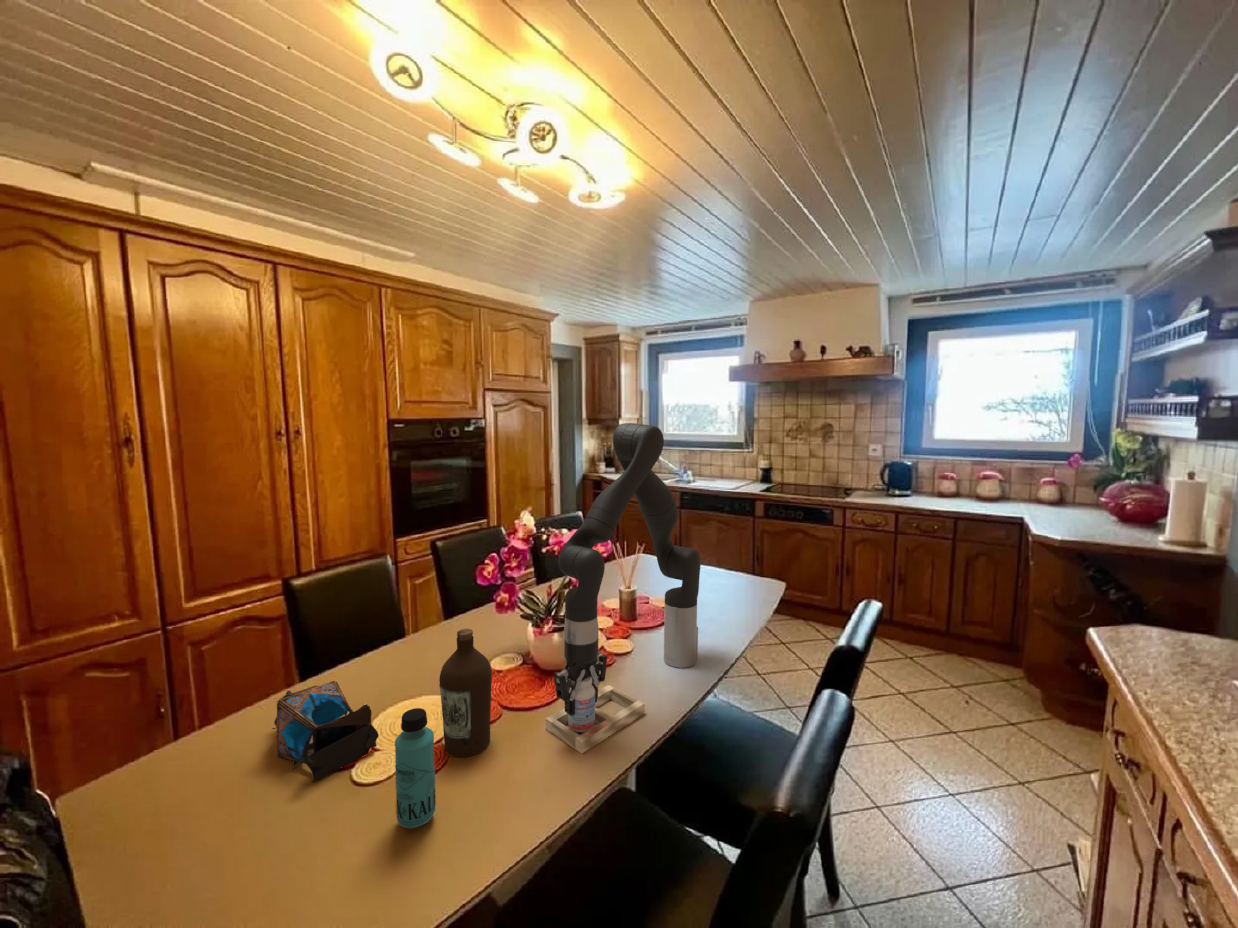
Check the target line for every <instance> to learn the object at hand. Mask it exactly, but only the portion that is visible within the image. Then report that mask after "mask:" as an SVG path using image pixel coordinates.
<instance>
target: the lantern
mask: <svg viewBox="0 0 1238 928" xmlns="http://www.w3.org/2000/svg"><path fill="white" fill-rule="evenodd" d="M275 704H276V718H274V719H275V720H274V723H273V724H274V726H275V727H272V728H271V729H272V730H275V729H276V755H277V757H278V758H282V759H285V760H288V761H293V762H292V763H293V766H292V770H294V769H295V768H296V764H297V763H301V764H304V765H306V766H307V767H308V768H309V770H310V771H311V773H312V784H315V783H317V782H319V781H321V780H322V779H323V780H324V779H325V778H326V777H328V776H330V775H332V774H334V773H336V772H337V771H339V770H341V769H342V768H341V767H343V768H345V767H347V766H349V765H351V764H353V763H354V762H356V760H357V761H359V760H360V759H359V758H361V757H362V756H364V755H366V754H368V755H369V751H370V749H372V748H375V747H377V740H378V739H379V736H380V735H379V733H378V731H377V729H376V727H374V726H373V724H372V710H371V706H369V705H368V703H364V704H363V705H362V706H361V707H359V708H358V709H357V710H355V711H354V710H353V709H352V708H351V706H350V704H349V701H348V700H347V697H346V696H345V695H344V693H343V691H342V689H341V688H340V685H339V682H338V681H335V680H331V681H329V682H326V683H324V684H320V685H313V686H310V687H307V688H303V689H301V690H298V691H295V692H294V691H293V692H291V690H289V689H288V690H287V691H286V693H285V694H284V695H283V696H282V697H281V698H279V699H278V700H277V701H276V702H275ZM366 756H367V755H366ZM358 759H359V760H358ZM361 759H362V758H361ZM352 762H353V763H352ZM346 765H347V766H346ZM344 766H345V767H344Z"/></svg>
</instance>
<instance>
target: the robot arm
mask: <svg viewBox="0 0 1238 928" xmlns="http://www.w3.org/2000/svg"><path fill="white" fill-rule="evenodd" d="M664 444H665V439H664V434H663V432H662V430H661V429H660V428H659V427H657V426H655V425H651V424H644V423H634V422H625V423H621V424H619V425H618V426H617V427H616V428H615V430H614V431H613V436H612V447H613V450H614V453H615V456H616V458H617V460H618V463H620V466H621V467H622V469H623V473H621V475H619V476H618V477H617V478H616V479H615V480H614V481H613V482H612V483H610V484H609V485H608V486H607V487H606V488H605V489H604V490H603V491H601V493H600V494H599V495H598V496H597V497H596V498H595V499H594V501H593V503H592V505H591V507H590V508H589V511H588V512H587V514H586V516H585V519H584V521H583V523H582V524H581V525H580V527H578V528H577V530H575V532H574V533H573V534H572V535H571V537H570V538H569V539H568V540H567V541H566V543H564V545H563V547H562V548H561V550H560V553H559V555H558V558H557V559H558V561H557V563H558V569H559V570H560V572H561V573H562V574H563V575H565V576H568V577H570V578H573V579H576V580H577V582H578V583H577V586H576V587H575V586H574V587H572V588H569V589H568V590H566V593H565V597H564V600H565V601H564V603H565V605H564V607H565V608H564V609H565V610H564V611H565V613H564V615H565V616H564V624H563V625H564V628H563V633H564V634H563V637H564V638H563V639H564V640H563V641H564V642H563V643H564V644H563V646H564V648H563V649H564V650H563V652H564V653H563V654H564V658H565V661H566V663H565V667H564V670H562V671H560V672H558V671H555V672H554V674H553V679H554V687H555V694H556V697H557V698H558V699H560V700H562V701H563V702H564V709H565V712H566V713H567V714H569V715H570V716H573V715H575V699H574V697H575V694H576V691H577V690H578V689H579V687H580V684H581V681H583V680H585V679H587V678H589V677H590V676H591V677H592V686H593V687H594V689H595V703H596V702H597V698H598V690H599V687H600V683H601V682H602V683H603V682H604V681H605V680H606V672H607V661H608V656H607V655H605V654H604V653H601V652H599V622H598V597H599V594H600V593H599V592H600V590H601V586H602V582H603V578H604V574H605V569H606V568H605V564H606V563H605V561H604V557H603V555H602V554H601V553H600V551H599V550H597V549H593V548H594V547H595V546H596V545H598V544H605V543H608V542H609V541H610V540H611V538H612V536H613V534H614V532H615V530H616V528H617V526H618V524H619V522H620V520H621V517H622V516H623V513H624V511H625V510H626V507H627V506H628V504H629V502H631V500H632V498H633V496H635V498H636V501H637V503H638V504H637V505H638V507H639V509H640V512H641V514H642V517H643V520H644V523H645V524H646V526H647V529H648V533H649V535H650V538H651V540H652V544H653V548H654V553H655V556H656V560H657V561H656V562H657V564H658V568H659V570H660V572H661V574H662V575H663V576H664V577H666V578H669V579H674V580H678V581H681V586H678V587H673V588H669V589H668V590H666V591H665V594H664V611H663V612H664V623H663V627H664V628H663V629H664V630H663V661H664V663H666V664H667V665H668V666H670V667H674V668H679V669H680V668H681V669H682V668H683V669H685V668H690V667H692V666H694V665H695V664H696V663H697V662H696V661H697V659H698V653H699V648H698V647H699V627H698V626H697V625H698V596H699V588H700V573H701V555H700V552H699V551H698V550H697V549H695V548H691V547H684V546H680V545H679V546H678V545H675V544H674V543H673V541H672V539H671V538H672V537H671V534H672V532H673V530H674V529H675V527H676V524H677V522H678V519H679V511H678V506H677V504H676V503H677V502H676V501H675V498H674V495H673V492H672V490H671V489H670V488H669V486H667V484H666V483H665V482H664V481H663V480H662V479H661V478H660V477H659V476H658V475H657V473H656V472H654V470H652V469H653V468H654V466H656V464H657V462H658V460H659V459H660V456H661V455H662V452H663V450H664ZM571 680H572V681H574V682H575V684H573V683H572V682H571ZM570 688H571V692H570V693H569V691H570Z"/></svg>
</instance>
